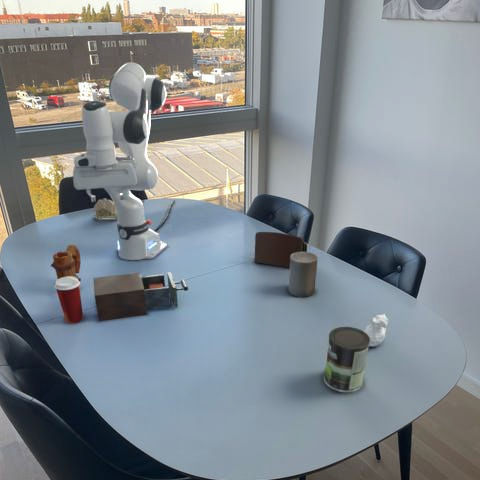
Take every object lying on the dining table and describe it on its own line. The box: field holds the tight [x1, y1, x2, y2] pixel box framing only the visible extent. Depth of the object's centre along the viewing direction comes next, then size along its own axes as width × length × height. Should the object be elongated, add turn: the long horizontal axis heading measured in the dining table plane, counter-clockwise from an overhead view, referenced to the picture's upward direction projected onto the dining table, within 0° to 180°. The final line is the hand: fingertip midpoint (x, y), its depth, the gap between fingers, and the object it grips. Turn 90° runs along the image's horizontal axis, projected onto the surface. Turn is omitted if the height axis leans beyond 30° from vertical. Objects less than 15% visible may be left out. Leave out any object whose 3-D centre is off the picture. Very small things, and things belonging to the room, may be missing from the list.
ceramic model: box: [93, 197, 118, 221], centre depth 241 cm, size 14×11×10 cm
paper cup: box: [54, 276, 84, 324], centre depth 150 cm, size 8×8×14 cm
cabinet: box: [92, 272, 148, 322], centre depth 157 cm, size 16×14×10 cm
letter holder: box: [254, 231, 308, 269], centre depth 191 cm, size 10×20×14 cm, turn 69°
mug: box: [50, 244, 82, 285], centre depth 170 cm, size 15×8×15 cm, turn 168°
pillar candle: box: [288, 251, 319, 298], centre depth 167 cm, size 10×10×15 cm
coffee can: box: [323, 326, 370, 394], centre depth 122 cm, size 10×10×14 cm
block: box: [149, 283, 163, 289], centre depth 160 cm, size 5×5×5 cm
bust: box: [363, 313, 389, 348], centre depth 139 cm, size 12×8×11 cm
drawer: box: [141, 271, 189, 311], centre depth 160 cm, size 19×12×8 cm, turn 106°
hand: (108, 200), depth 156 cm, fingers open, 8 cm apart
